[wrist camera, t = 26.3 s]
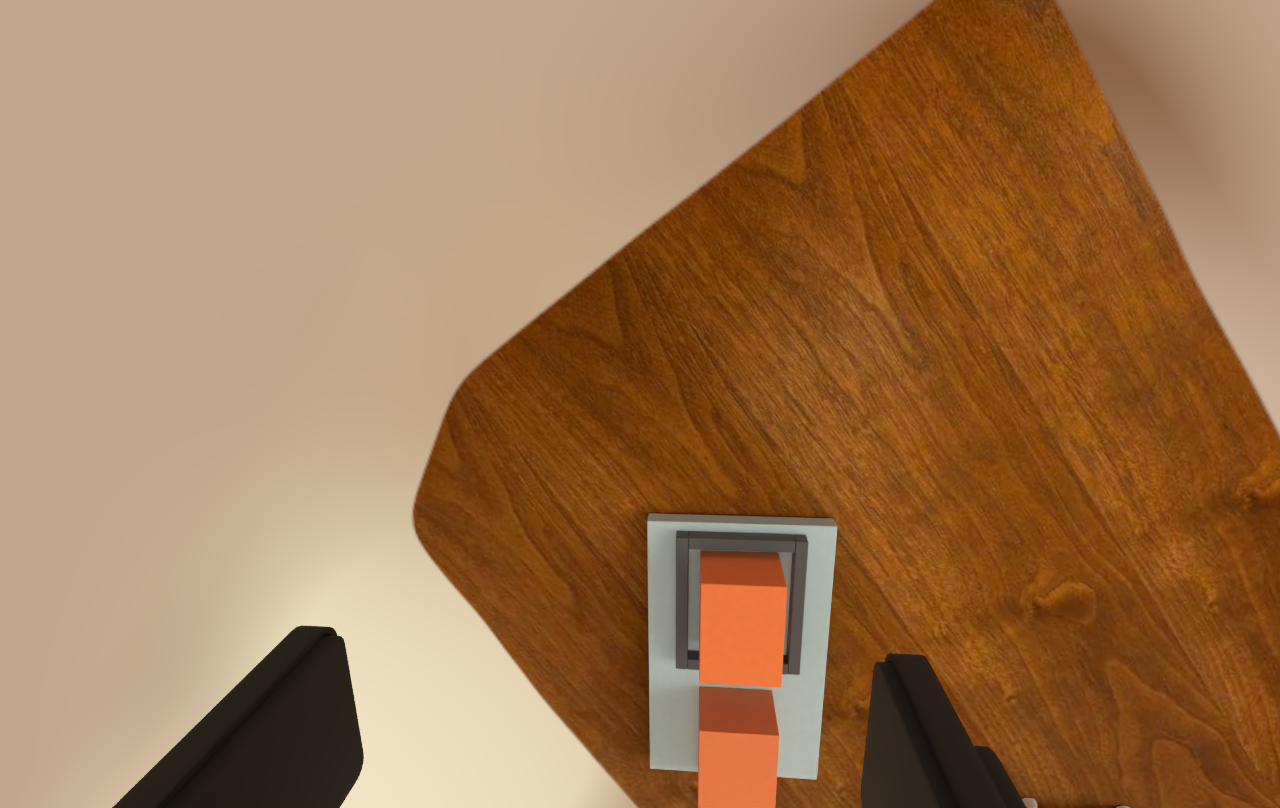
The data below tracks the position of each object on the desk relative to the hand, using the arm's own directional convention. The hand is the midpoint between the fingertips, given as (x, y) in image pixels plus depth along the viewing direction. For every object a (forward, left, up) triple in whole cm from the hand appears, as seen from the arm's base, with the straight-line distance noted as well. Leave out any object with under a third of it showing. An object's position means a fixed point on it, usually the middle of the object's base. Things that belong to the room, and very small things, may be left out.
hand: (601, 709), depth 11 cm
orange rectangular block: (+5, -15, -27) cm, 31 cm away
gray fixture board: (+5, -20, -28) cm, 35 cm away
